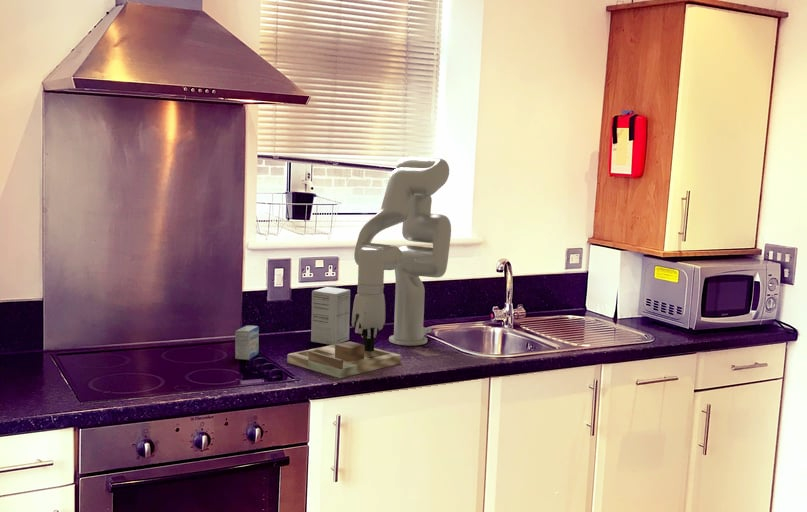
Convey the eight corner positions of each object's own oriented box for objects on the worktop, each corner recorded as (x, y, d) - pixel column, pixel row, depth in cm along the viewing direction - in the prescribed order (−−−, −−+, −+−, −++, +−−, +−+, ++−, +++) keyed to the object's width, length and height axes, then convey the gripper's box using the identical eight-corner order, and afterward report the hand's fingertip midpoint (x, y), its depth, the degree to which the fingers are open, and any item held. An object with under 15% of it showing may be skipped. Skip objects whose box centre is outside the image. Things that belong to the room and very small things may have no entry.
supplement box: (325, 336, 293) (327, 286, 290) (349, 340, 288) (351, 289, 286) (309, 341, 284) (311, 290, 282) (334, 345, 280) (335, 293, 278)
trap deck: (348, 349, 276) (348, 333, 275) (400, 363, 261) (401, 346, 261) (287, 362, 257) (287, 345, 257) (340, 378, 243) (340, 360, 242)
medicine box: (249, 360, 258) (249, 331, 257) (234, 359, 259) (235, 330, 258) (258, 354, 266) (259, 326, 265) (244, 352, 267) (245, 324, 266)
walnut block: (349, 354, 259) (349, 341, 259) (364, 358, 255) (364, 345, 255) (334, 357, 255) (335, 344, 254) (349, 362, 251) (349, 348, 250)
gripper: (378, 285, 266) (376, 344, 269) (343, 290, 255) (341, 352, 257) (397, 288, 261) (394, 349, 264) (361, 294, 250) (359, 357, 252)
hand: (368, 350), depth 260 cm, fingers closed
